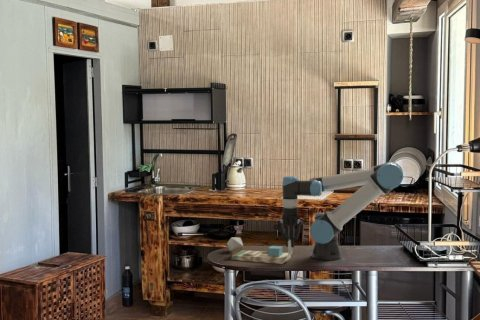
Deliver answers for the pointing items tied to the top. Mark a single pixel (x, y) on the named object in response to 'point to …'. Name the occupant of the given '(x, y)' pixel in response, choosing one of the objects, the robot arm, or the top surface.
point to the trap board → (257, 256)
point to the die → (234, 243)
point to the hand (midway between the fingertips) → (290, 253)
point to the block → (275, 251)
